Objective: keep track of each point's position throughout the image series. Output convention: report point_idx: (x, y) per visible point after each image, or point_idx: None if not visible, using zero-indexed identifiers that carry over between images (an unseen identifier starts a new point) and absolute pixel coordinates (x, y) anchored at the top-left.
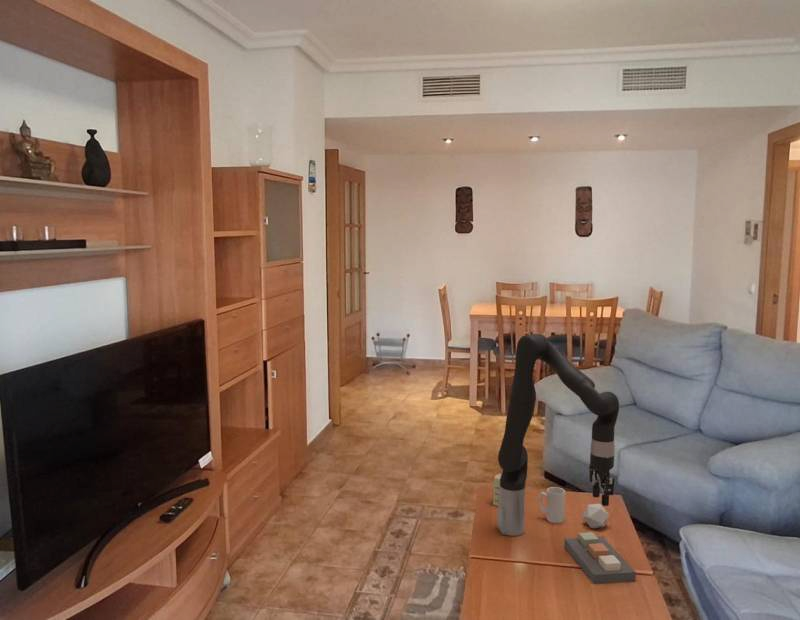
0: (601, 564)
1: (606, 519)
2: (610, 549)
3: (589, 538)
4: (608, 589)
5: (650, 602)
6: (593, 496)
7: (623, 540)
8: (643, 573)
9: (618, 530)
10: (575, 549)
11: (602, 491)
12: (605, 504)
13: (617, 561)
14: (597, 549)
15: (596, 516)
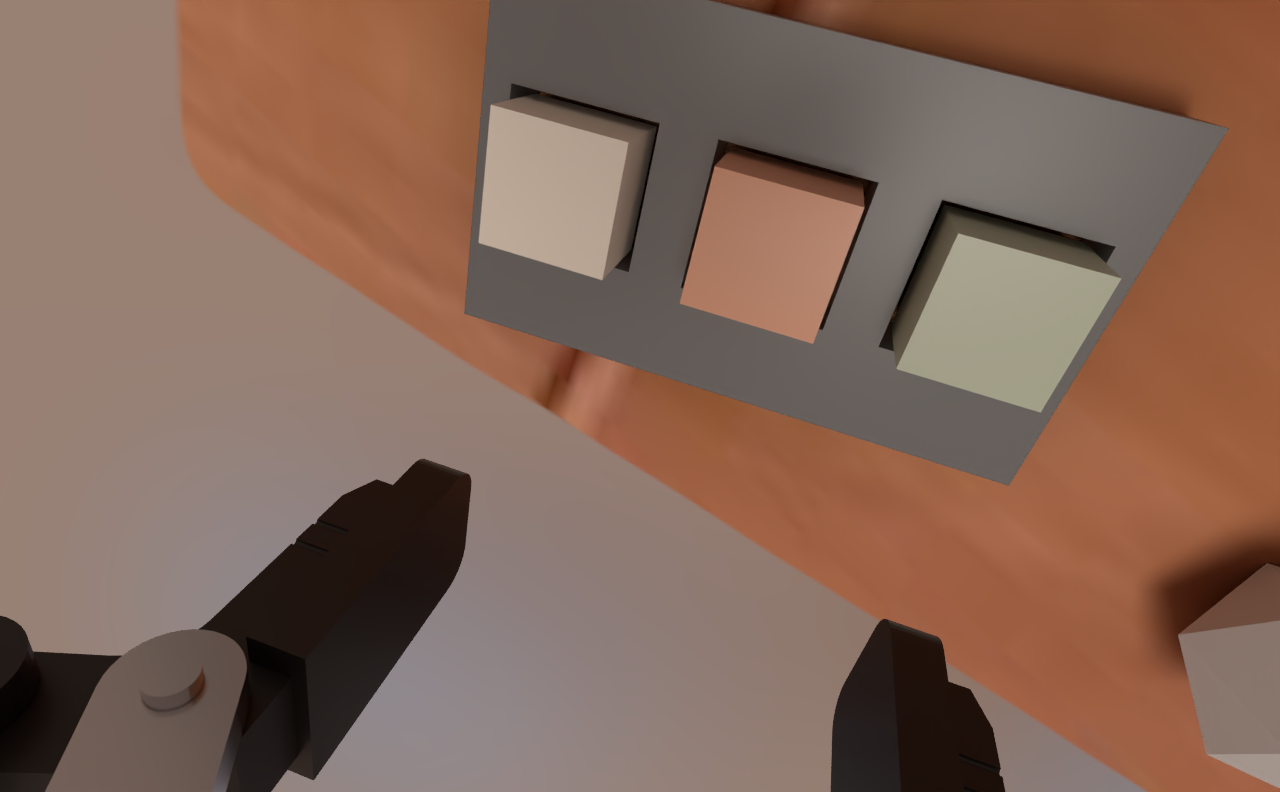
0: (586, 120)
1: (1194, 700)
2: (793, 385)
3: (952, 299)
4: (439, 25)
5: (279, 196)
6: (887, 625)
7: (949, 601)
8: (556, 398)
9: (1083, 677)
10: (954, 85)
11: (147, 739)
12: (364, 504)
13: (502, 234)
14: (734, 217)
15: (1270, 664)
